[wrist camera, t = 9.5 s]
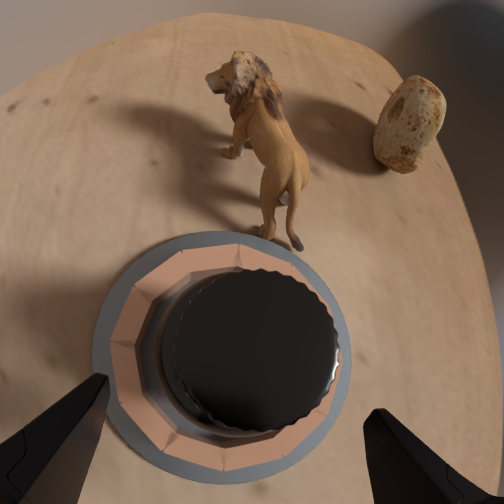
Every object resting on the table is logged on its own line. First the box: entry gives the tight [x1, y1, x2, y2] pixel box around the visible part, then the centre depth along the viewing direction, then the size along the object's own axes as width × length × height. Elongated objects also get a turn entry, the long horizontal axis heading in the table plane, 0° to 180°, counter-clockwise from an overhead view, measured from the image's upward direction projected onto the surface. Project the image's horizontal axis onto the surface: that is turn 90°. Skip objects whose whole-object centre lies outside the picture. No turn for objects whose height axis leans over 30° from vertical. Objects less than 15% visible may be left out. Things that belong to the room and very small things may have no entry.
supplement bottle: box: [154, 268, 340, 437], centre depth 14 cm, size 7×7×12 cm
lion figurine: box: [205, 51, 309, 252], centre depth 21 cm, size 15×5×9 cm, turn 26°
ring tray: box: [92, 231, 352, 485], centre depth 18 cm, size 18×18×3 cm
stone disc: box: [373, 75, 446, 174], centre depth 26 cm, size 10×4×10 cm, turn 161°
